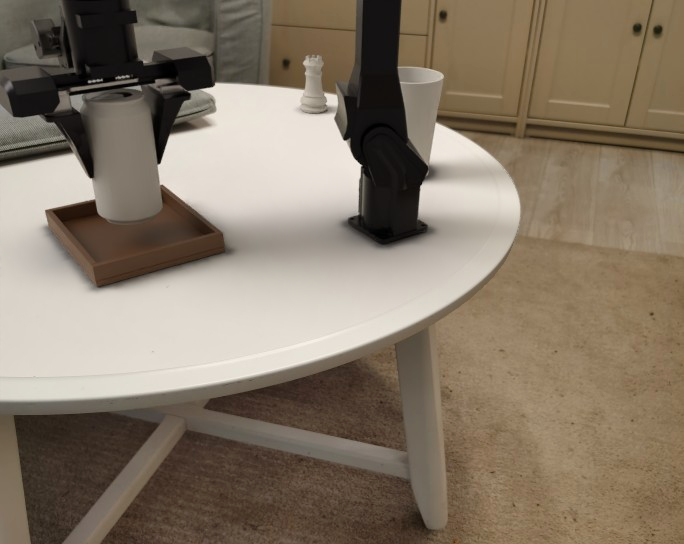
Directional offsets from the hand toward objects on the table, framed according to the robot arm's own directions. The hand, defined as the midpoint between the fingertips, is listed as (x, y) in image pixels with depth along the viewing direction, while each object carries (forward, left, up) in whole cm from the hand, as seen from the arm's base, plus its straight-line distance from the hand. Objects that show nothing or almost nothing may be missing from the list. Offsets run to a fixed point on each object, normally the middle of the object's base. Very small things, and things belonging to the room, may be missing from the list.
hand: (124, 170), depth 70 cm
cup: (0, -36, -8) cm, 37 cm away
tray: (0, 0, -8) cm, 8 cm away
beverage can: (0, 0, -5) cm, 5 cm away
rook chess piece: (+29, -41, -8) cm, 51 cm away
